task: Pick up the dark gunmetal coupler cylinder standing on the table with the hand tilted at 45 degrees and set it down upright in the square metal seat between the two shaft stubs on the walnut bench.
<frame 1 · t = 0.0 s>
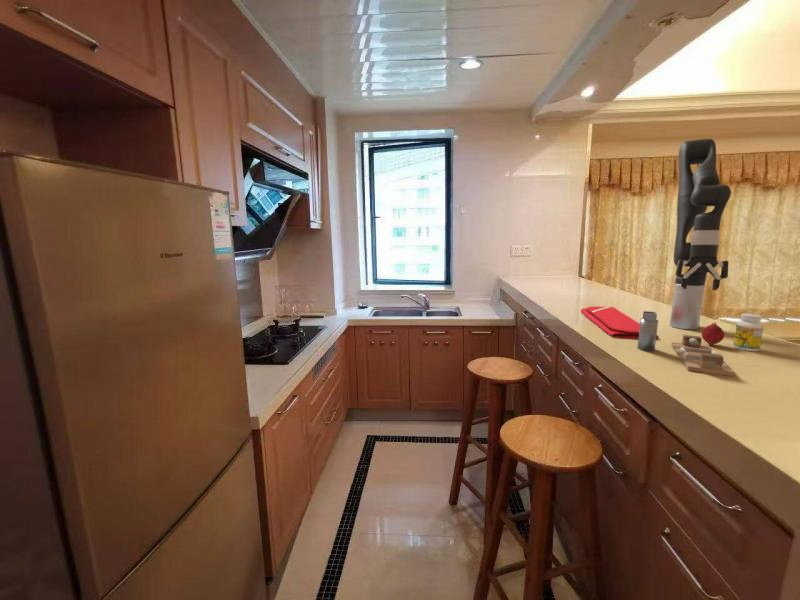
hand: (699, 289, 131), 17 cm above the worktop, tool pointing down, fingers open, 8 cm apart
supplement bottle: (745, 349, 120), on the worktop
onion: (711, 345, 124), on the worktop
red folded towel: (613, 325, 153), on the worktop
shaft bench: (699, 359, 111), on the worktop
coupler: (645, 349, 121), on the worktop
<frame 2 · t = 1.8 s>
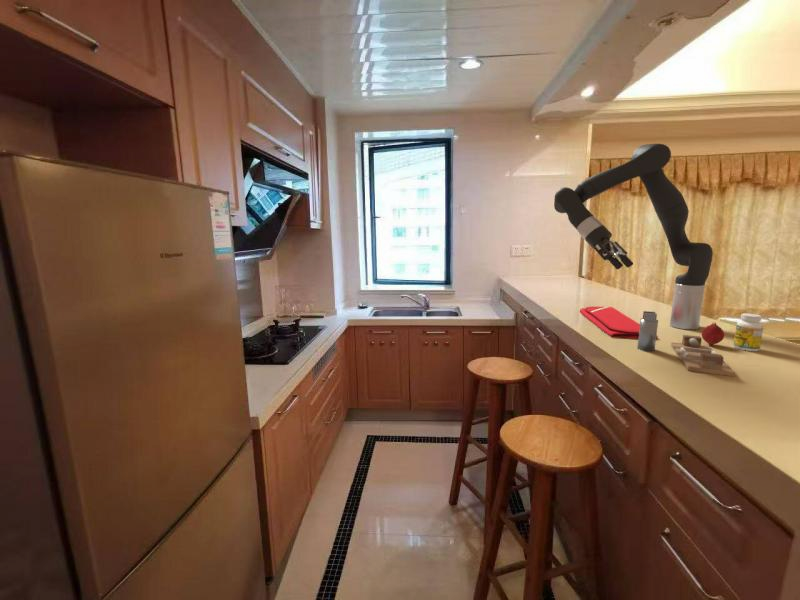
hand: (625, 266, 123), 27 cm above the worktop, tool tilted 45°, fingers open, 8 cm apart
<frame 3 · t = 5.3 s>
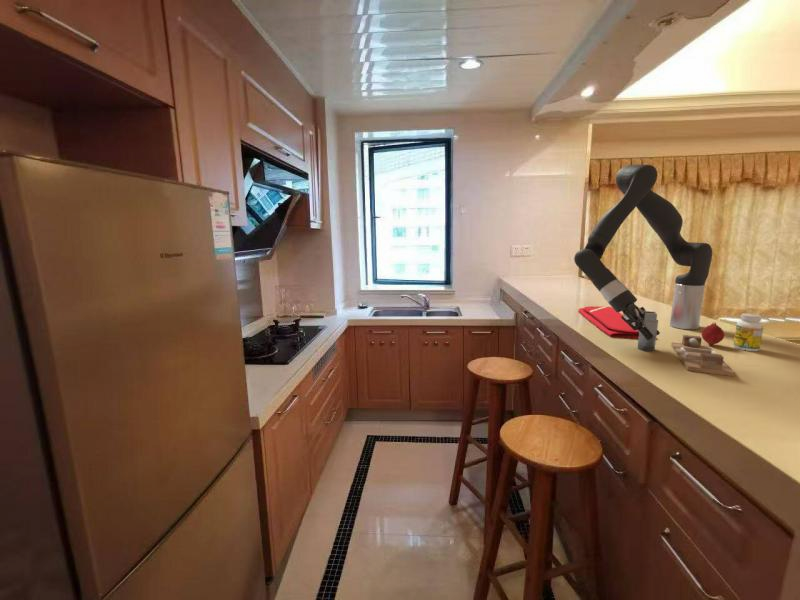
hand: (654, 336, 119), 5 cm above the worktop, tool tilted 45°, fingers closed on coupler, 4 cm apart
coupler: (645, 348, 122), on the worktop, touching gripper
when the fingers open (7 cm above the worktop, at t = 10.0 s): coupler drops 2 cm, resting on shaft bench.
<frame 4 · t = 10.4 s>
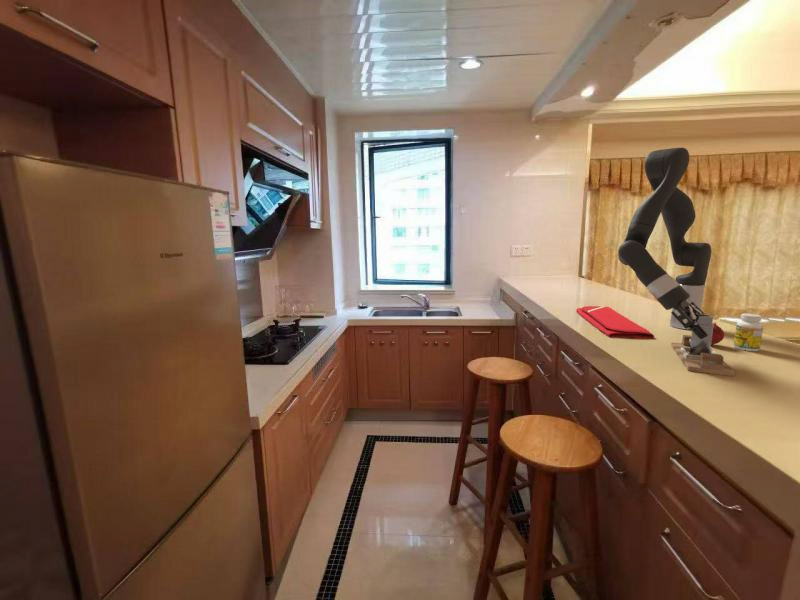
hand: (708, 334, 109), 8 cm above the worktop, tool tilted 45°, fingers open, 8 cm apart
coupler: (699, 355, 111), point 1 cm above the worktop, touching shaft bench
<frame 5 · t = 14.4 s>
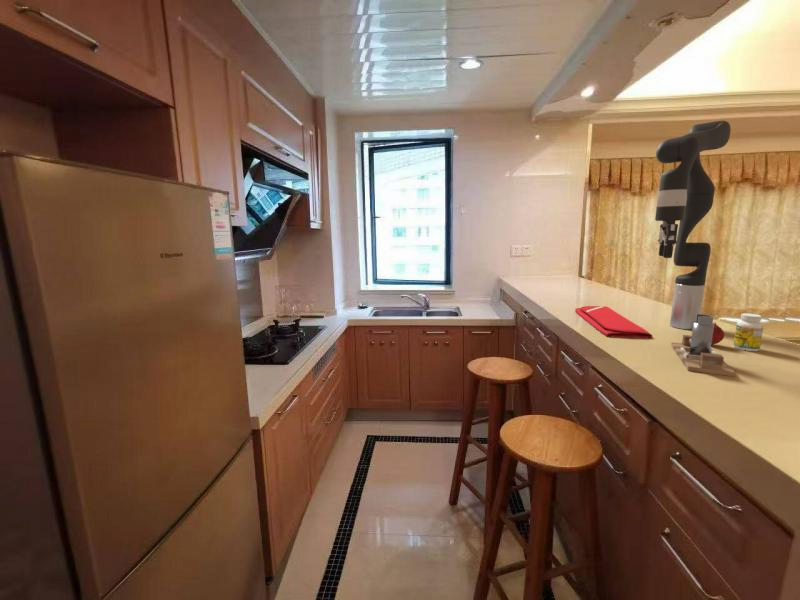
hand: (664, 256, 119), 30 cm above the worktop, tool pointing down, fingers open, 8 cm apart
at the end: coupler 0.2 cm off-centre on the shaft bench, point 1.2 cm above the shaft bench's base; coupler tilted 1°; the gripper is holding nothing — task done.
